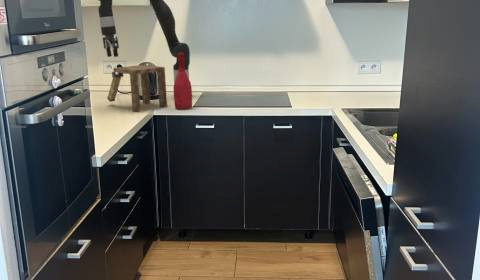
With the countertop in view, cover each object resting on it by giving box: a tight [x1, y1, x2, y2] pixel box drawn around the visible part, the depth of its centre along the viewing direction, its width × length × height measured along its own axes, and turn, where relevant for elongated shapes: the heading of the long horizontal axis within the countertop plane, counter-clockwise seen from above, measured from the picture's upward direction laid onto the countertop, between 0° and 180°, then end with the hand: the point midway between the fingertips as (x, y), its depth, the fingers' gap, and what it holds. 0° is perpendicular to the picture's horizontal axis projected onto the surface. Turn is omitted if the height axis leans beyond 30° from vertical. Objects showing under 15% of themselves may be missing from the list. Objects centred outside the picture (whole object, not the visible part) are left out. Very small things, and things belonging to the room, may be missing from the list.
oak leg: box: [106, 73, 122, 103], centre depth 269 cm, size 3×3×18 cm
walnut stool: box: [111, 64, 168, 113], centre depth 264 cm, size 21×20×22 cm
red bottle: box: [173, 53, 193, 110], centre depth 259 cm, size 10×10×30 cm
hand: (112, 56), depth 258 cm, fingers open, 8 cm apart
